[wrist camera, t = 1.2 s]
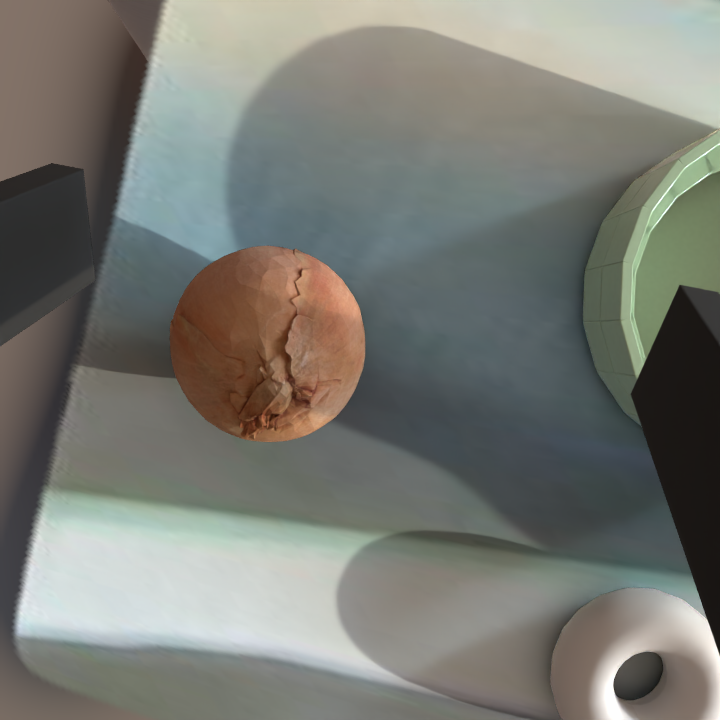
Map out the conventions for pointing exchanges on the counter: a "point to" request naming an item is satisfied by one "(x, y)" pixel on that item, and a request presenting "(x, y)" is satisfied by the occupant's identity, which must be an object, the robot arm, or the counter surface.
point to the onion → (267, 343)
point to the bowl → (651, 260)
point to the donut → (629, 637)
